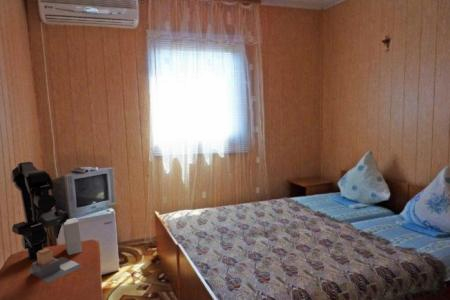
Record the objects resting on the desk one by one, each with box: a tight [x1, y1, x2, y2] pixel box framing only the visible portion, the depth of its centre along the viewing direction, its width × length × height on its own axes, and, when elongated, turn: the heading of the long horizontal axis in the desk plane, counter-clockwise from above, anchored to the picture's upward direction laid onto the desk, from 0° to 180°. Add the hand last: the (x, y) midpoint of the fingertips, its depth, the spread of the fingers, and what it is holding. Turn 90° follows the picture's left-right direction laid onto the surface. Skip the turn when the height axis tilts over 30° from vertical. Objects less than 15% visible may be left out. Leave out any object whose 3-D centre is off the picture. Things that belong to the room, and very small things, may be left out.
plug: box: [36, 247, 54, 266], centre depth 121 cm, size 4×4×9 cm
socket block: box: [27, 256, 84, 284], centre depth 123 cm, size 16×14×5 cm
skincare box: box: [62, 217, 83, 256], centre depth 138 cm, size 8×6×15 cm
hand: (44, 242), depth 120 cm, fingers open, 9 cm apart
